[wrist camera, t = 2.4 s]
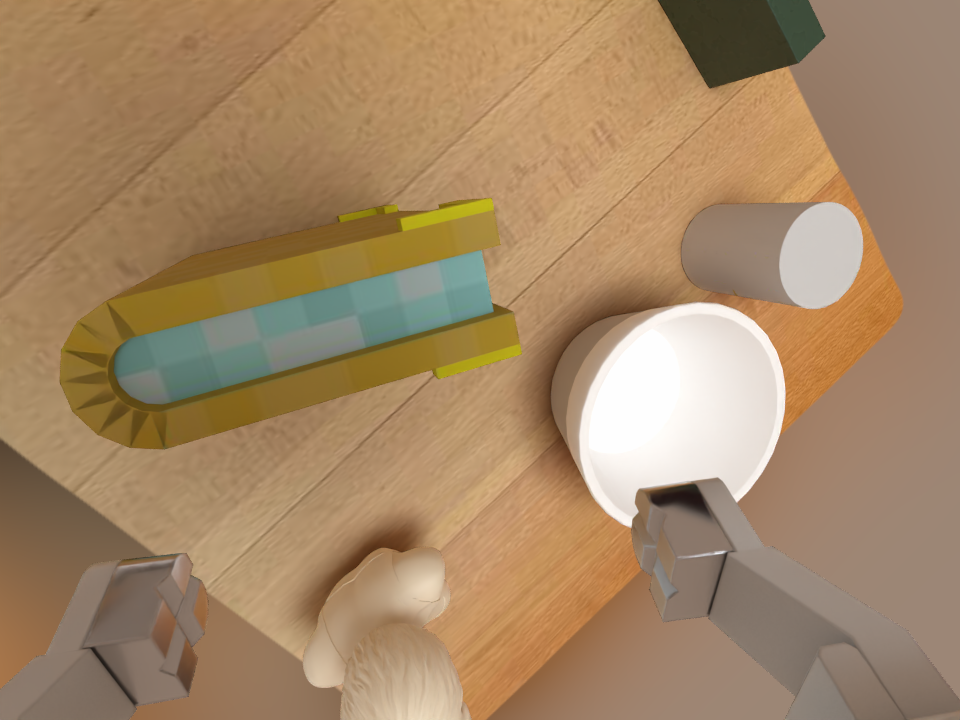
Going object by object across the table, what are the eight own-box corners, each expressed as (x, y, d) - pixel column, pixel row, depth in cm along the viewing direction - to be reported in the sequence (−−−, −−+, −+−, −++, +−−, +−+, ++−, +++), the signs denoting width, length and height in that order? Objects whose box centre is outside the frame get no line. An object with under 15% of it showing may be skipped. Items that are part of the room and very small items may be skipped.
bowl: (736, 351, 62) (825, 378, 52) (633, 512, 62) (701, 569, 52) (600, 245, 54) (673, 252, 44) (484, 428, 55) (531, 475, 45)
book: (386, 205, 48) (491, 197, 25) (406, 288, 50) (521, 354, 27) (156, 256, 44) (25, 304, 21) (188, 345, 46) (102, 480, 23)
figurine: (351, 659, 56) (389, 880, 37) (279, 599, 52) (282, 810, 34) (463, 558, 57) (554, 723, 39) (400, 494, 54) (467, 640, 35)
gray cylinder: (698, 306, 59) (796, 328, 48) (669, 231, 56) (766, 236, 45) (762, 264, 60) (873, 275, 49) (737, 188, 57) (848, 182, 46)
